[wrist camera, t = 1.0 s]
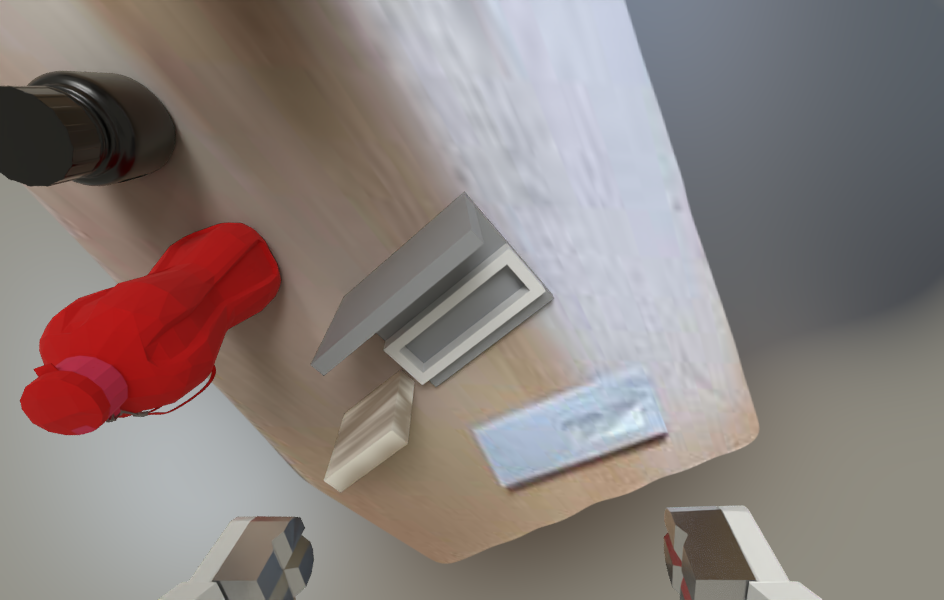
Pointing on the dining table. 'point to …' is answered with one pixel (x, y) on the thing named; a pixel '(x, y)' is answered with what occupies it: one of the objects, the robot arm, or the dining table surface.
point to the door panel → (372, 431)
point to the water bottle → (150, 332)
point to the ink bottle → (82, 130)
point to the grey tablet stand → (438, 298)
